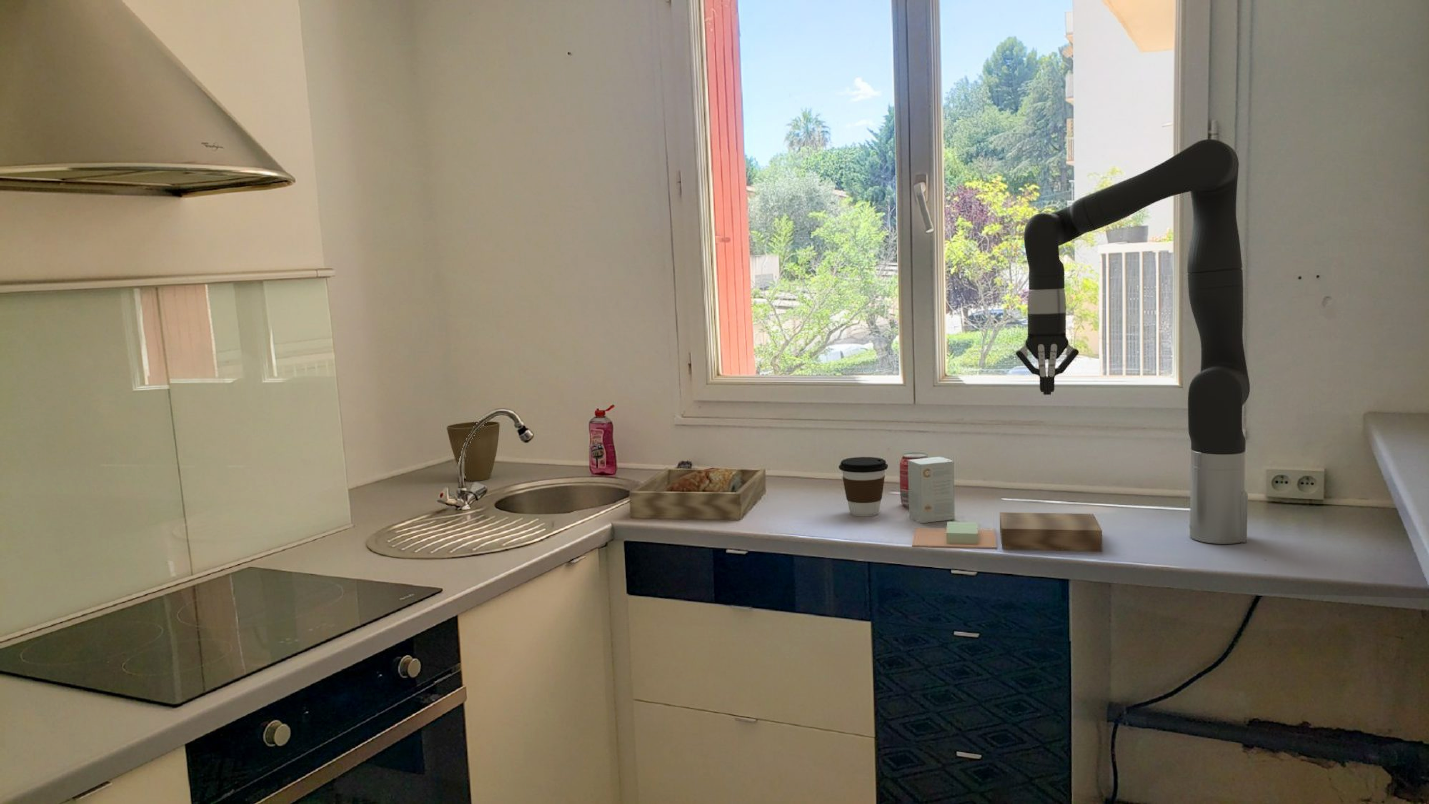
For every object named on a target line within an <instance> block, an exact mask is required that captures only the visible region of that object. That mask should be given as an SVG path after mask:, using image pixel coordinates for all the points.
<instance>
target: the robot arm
mask: <svg viewBox="0 0 1429 804" xmlns="http://www.w3.org/2000/svg"><path fill="white" fill-rule="evenodd" d="M1239 163H1240V162H1239V157H1238V154H1237V153H1236V151H1235V150H1234V148H1232V146H1230V145H1229V144H1227V143H1225V142H1223V141H1222V140H1217V139H1213V138H1212V139H1211V138H1208V139H1202V140H1199V141H1196V142H1195V143H1193V144H1191V145H1189V146H1188V147H1186V148H1185V149H1183V150H1181V151H1180V152H1178V153H1177V154H1174V156H1172V157H1170V158H1168V159H1166V160H1165V161H1163V162H1161V163H1160V164H1157V165H1155V166H1154V167H1152V168H1149V169H1148V170H1146V171H1143V172H1141V173H1139V174H1137V175H1135V176H1132V177H1129V178H1127V179H1124V180H1122V181H1119V182H1118V183H1114V184H1112V185H1109V186H1107V187H1104V188H1101V189H1099V190H1097V191H1094V192H1092V193H1089V194H1087V195H1085V196H1082V197H1080V198H1078V199H1076V200H1075V201H1073V202H1072V204H1071V205H1069V206H1067V207H1064V208H1062V209H1058V210H1056V211H1054V212H1050V213H1046V212H1039V213H1037V214H1034V215H1033V216H1031V217H1030V218H1029V219H1028V220H1027V222H1026V224H1025V227H1024V231H1023V243H1024V249H1025V256H1026V261H1027V265H1028V294H1027V307H1026V310H1027V338H1026V340H1025V342H1024V344H1025V345H1023V346H1022V347H1021V348H1020V349H1017V350H1016V351H1015V355H1016V356H1017V358H1018V359H1019V360H1020V361H1021V363H1022V364H1023V365H1024V366H1025V368H1027V369H1028V371H1029V372H1030V373H1031V374H1032V375H1037V376H1038V377H1039V391H1040V393H1042V394H1043V395H1044V396H1049V395H1052V393H1054V391H1055V378H1056V377H1057V375H1061V374H1063V373H1064V372H1065V371H1066V370H1067V369H1068V368H1069V366H1070V365H1071V363H1072V362H1073V361H1074V360H1075V359H1076V358H1077V356H1078V355H1079V353H1080V351H1079V349H1077V348H1075V347H1073V346H1072V345H1070V344H1069V339H1068V338H1067V304H1066V303H1067V300H1066V289H1065V288H1066V287H1065V286H1066V285H1065V284H1066V283H1065V279H1066V278H1065V275H1066V274H1065V266H1064V263H1063V262H1062V261H1061V259H1060V248H1059V247H1060V246H1062V245H1064V244H1067V243H1068V242H1071V241H1073V240H1075V239H1077V238H1079V237H1080V236H1083V235H1085V234H1087V233H1090V232H1093V231H1096V230H1099V229H1101V228H1104V227H1106V226H1109V225H1111V224H1113V223H1117V222H1119V221H1121V220H1123V219H1126V218H1127V217H1130V216H1132V215H1133V214H1135V213H1137V212H1139V211H1141V210H1142V209H1145V208H1146V207H1148V206H1151V205H1153V204H1154V203H1157V202H1160V201H1162V200H1165V199H1168V198H1170V197H1173V196H1177V195H1181V194H1184V193H1188V192H1190V198H1191V206H1192V215H1193V216H1192V219H1193V220H1192V231H1191V235H1190V241H1189V249H1188V256H1187V267H1186V268H1187V271H1186V272H1187V286H1188V287H1187V289H1188V291H1187V292H1188V298H1189V304H1190V308H1191V313H1192V315H1193V318H1194V321H1195V325H1196V328H1197V331H1198V334H1199V341H1200V348H1201V349H1200V350H1201V351H1200V352H1201V354H1200V355H1201V356H1200V358H1201V359H1200V372H1198V373H1197V374H1196V375H1194V377H1193V378H1192V379H1191V382H1190V384H1189V386H1188V393H1187V425H1188V426H1187V429H1188V431H1187V432H1188V435H1189V436H1188V437H1189V439H1190V449H1191V450H1190V496H1189V497H1190V498H1189V500H1190V502H1189V503H1190V504H1189V505H1190V506H1189V508H1190V509H1189V537H1190V538H1191V539H1192V540H1196V541H1198V542H1202V543H1208V544H1209V543H1210V544H1216V545H1217V544H1218V545H1227V544H1228V545H1232V544H1238V543H1247V541H1248V540H1247V539H1248V507H1249V506H1248V504H1249V503H1248V502H1249V501H1248V500H1249V499H1248V497H1249V495H1248V492H1247V491H1245V489H1246V488H1245V485H1246V484H1245V483H1246V482H1245V480H1246V477H1245V475H1246V442H1247V441H1246V437H1245V435H1244V432H1243V431H1244V430H1243V407H1244V404H1245V403H1247V401H1248V399H1249V396H1250V389H1251V385H1250V378H1249V373H1248V366H1247V361H1246V354H1245V349H1244V340H1243V339H1244V338H1243V337H1244V336H1243V333H1244V332H1243V331H1244V330H1243V329H1244V276H1243V275H1244V273H1243V262H1242V261H1243V260H1242V250H1241V241H1240V234H1239V233H1240V232H1239V229H1238V220H1237V195H1238V194H1237V191H1238V179H1239V167H1240V164H1239ZM1065 350H1066V351H1065ZM1028 351H1029V353H1031V355H1032V356H1033V358H1034V359H1036V360H1037V364H1038V368H1037V367H1035V366H1034V364H1032V362H1031V361H1030V360H1029V359H1028V357H1029V353H1028ZM1064 352H1065V358H1064V359H1062V361H1061V363H1060V364H1059V365H1058V366H1057V367H1056V365H1057V360H1058V359H1059V358H1060V357H1061V355H1062V354H1063V353H1064ZM1046 360H1047V361H1048V362H1047V366H1046ZM1046 367H1047V369H1046ZM1046 370H1047V371H1046Z"/></svg>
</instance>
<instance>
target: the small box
mask: <svg viewBox="0 0 1429 804" xmlns="http://www.w3.org/2000/svg"><path fill="white" fill-rule="evenodd" d="M954 463H955V462H954V460H951V459H949V458H946V457H943V456H933V457H928V458H922V459H912V460H908V485H909V507H908V509H909V510H908V512H909V514H908V515H909V518H911V519H913V520H914V521H916V522H918V523H920V524H926V523H927V524H928V523H934V522H941V521H942V522H943V521H950V520H955V518H956V517H955V516H956V514H955V513H956V511H955V510H956V509H955V508H956V506H955V467H954V466H955V465H954Z"/></svg>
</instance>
